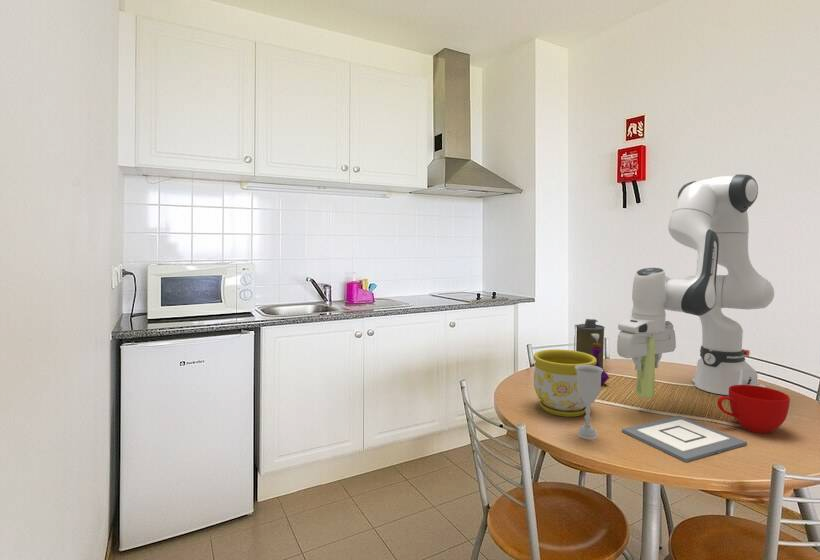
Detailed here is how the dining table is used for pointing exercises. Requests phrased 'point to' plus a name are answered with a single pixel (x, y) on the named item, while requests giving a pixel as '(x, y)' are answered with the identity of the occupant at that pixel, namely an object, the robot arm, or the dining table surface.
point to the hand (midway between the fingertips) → (646, 369)
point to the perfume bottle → (596, 351)
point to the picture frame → (683, 438)
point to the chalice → (588, 395)
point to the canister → (589, 338)
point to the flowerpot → (560, 381)
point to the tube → (647, 372)
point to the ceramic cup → (757, 407)
